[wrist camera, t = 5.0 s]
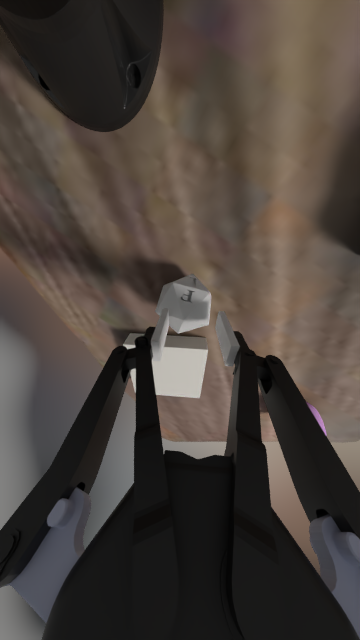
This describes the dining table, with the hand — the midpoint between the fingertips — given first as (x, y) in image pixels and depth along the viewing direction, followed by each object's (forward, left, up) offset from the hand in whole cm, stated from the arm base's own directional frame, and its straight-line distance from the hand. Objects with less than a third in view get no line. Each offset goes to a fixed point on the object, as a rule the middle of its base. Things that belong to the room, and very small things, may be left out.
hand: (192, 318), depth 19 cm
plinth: (+19, -5, -9) cm, 22 cm away
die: (0, -1, -9) cm, 10 cm away
